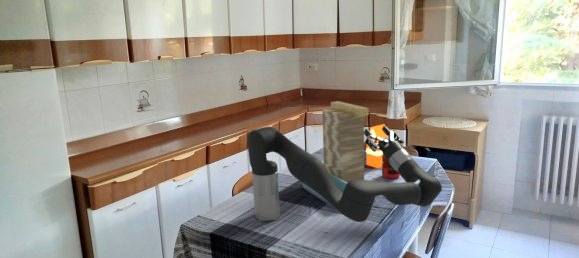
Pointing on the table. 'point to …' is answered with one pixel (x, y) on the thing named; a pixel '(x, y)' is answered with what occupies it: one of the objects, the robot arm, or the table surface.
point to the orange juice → (376, 157)
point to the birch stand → (343, 144)
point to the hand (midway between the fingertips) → (374, 128)
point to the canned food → (388, 170)
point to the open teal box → (338, 182)
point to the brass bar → (350, 108)
